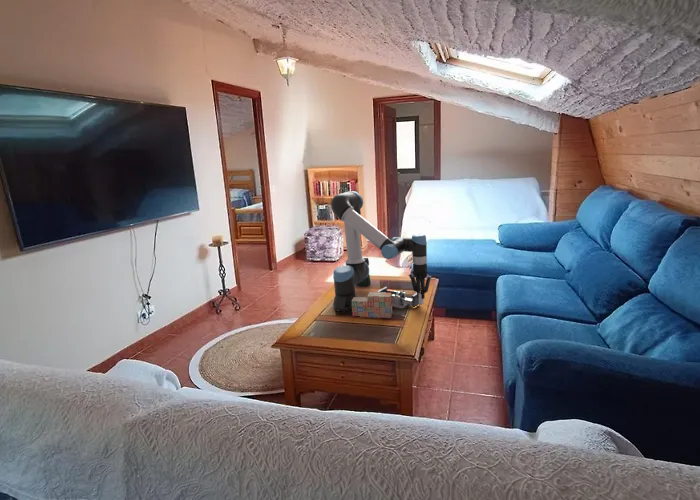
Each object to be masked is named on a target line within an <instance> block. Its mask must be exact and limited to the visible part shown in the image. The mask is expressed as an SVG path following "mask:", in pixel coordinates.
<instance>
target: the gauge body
mask: <svg viewBox="0 0 700 500" xmlns="http://www.w3.org/2000/svg"><path fill="white" fill-rule="evenodd" d="M376 292H386V293H392V308H393V307H394V308H398V309H403V308H404V309H405V308H407V307H408V306H407V305H406V304H401V300H400V296H399V295H397V296H395V295H396V294H397V293H399V292H400V291H399V290H395V289H388V287H387V286H384V287H382V288H380V289H379V290H378V291H376ZM406 293H407V292H406V291H403V292H402V293H401V297H405V298H407V295H406Z"/></svg>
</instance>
